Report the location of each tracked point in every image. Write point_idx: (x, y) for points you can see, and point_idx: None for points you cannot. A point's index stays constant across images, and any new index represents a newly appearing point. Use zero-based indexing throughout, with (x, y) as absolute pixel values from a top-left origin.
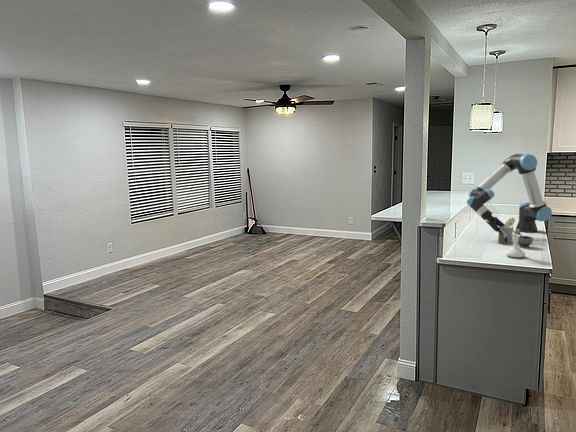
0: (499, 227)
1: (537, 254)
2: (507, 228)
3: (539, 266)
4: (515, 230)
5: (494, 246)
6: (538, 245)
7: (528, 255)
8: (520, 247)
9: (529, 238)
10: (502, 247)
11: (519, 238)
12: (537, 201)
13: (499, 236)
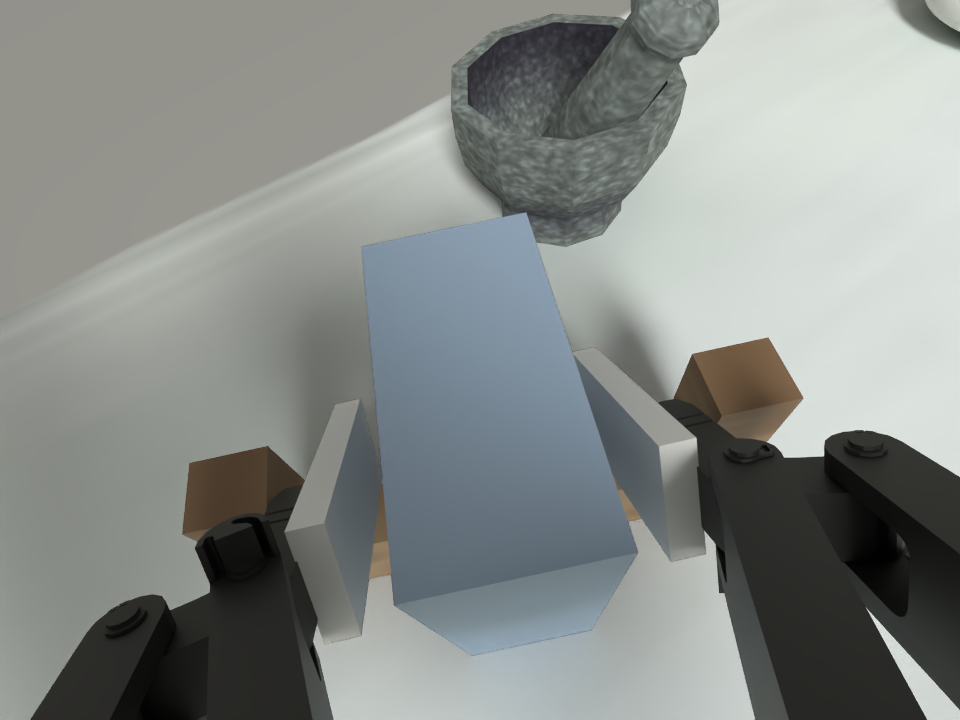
0: (629, 528)
1: (721, 11)
2: (544, 280)
3: None
4: (692, 12)
5: (947, 411)
6: (337, 189)
7: (836, 13)
8: (619, 206)
9: (577, 22)
10: (855, 308)
11: (681, 79)
12: None
13: (765, 437)
